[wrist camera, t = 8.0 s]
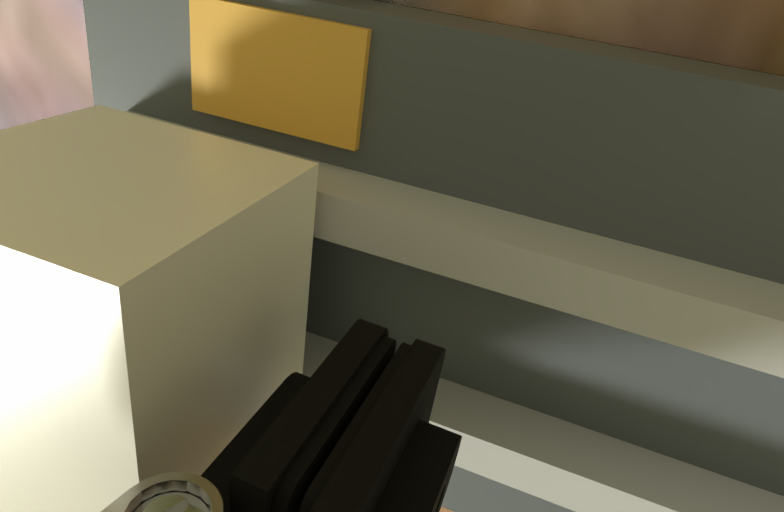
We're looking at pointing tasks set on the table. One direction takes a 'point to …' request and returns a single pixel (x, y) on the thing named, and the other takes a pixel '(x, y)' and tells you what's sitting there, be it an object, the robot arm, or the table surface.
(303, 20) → the fader board
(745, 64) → the table surface
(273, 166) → the fader knob
